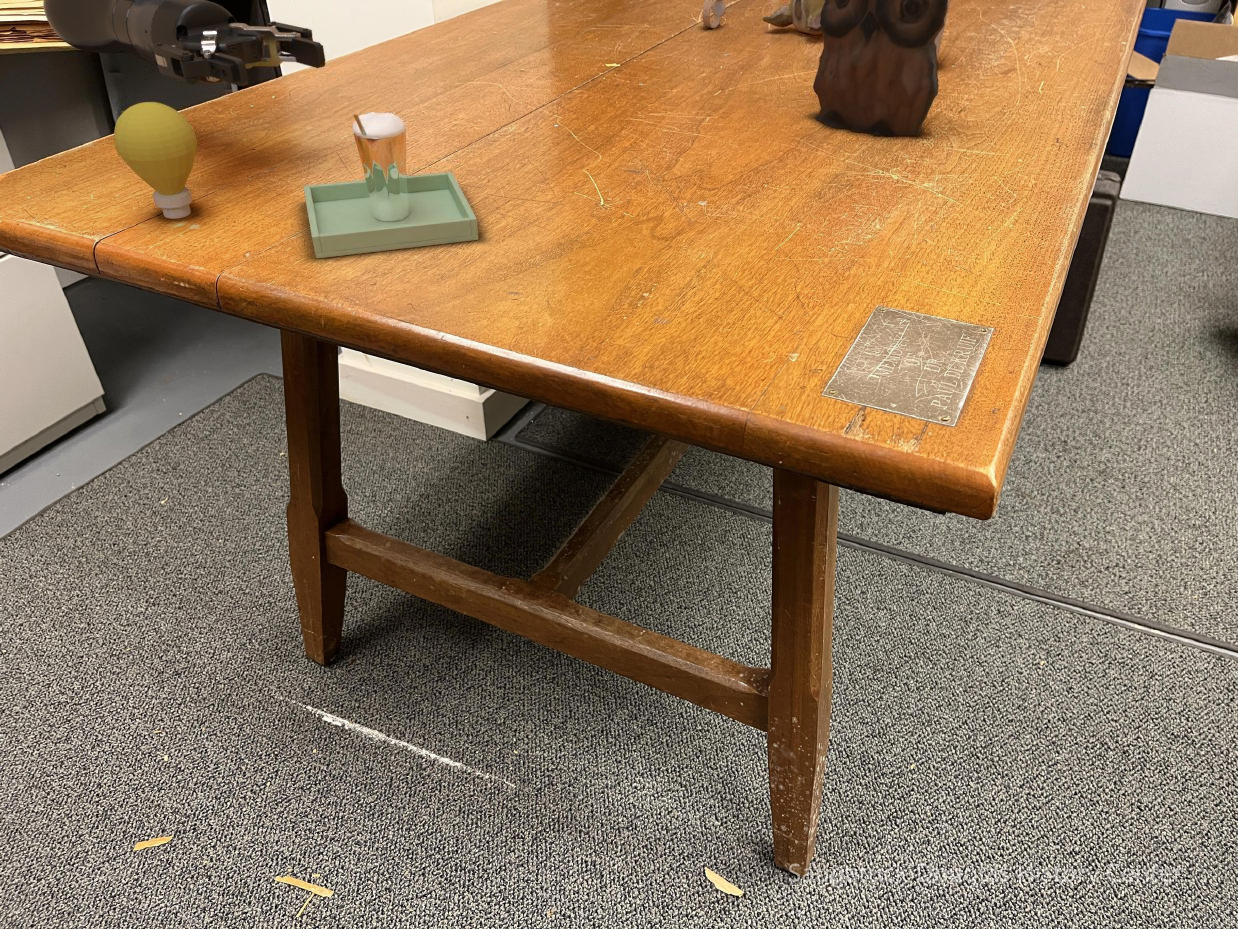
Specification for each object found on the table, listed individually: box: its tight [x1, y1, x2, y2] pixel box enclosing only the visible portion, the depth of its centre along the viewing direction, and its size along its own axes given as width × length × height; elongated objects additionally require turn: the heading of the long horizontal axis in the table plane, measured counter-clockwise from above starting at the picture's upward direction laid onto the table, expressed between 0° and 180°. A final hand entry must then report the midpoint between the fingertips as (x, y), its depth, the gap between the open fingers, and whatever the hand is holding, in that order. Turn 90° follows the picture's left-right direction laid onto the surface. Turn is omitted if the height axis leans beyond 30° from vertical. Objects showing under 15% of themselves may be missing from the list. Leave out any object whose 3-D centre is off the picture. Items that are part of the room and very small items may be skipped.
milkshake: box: [352, 111, 409, 222], centre depth 81 cm, size 4×5×10 cm
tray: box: [302, 171, 479, 260], centre depth 84 cm, size 14×12×2 cm
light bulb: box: [113, 101, 198, 220], centre depth 82 cm, size 7×7×10 cm
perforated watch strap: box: [701, 0, 727, 29], centre depth 148 cm, size 3×5×5 cm, turn 148°
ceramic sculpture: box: [762, 0, 825, 36], centre depth 146 cm, size 11×9×15 cm
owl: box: [812, 0, 949, 137], centre depth 105 cm, size 13×13×20 cm
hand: (283, 64), depth 84 cm, fingers open, 8 cm apart
